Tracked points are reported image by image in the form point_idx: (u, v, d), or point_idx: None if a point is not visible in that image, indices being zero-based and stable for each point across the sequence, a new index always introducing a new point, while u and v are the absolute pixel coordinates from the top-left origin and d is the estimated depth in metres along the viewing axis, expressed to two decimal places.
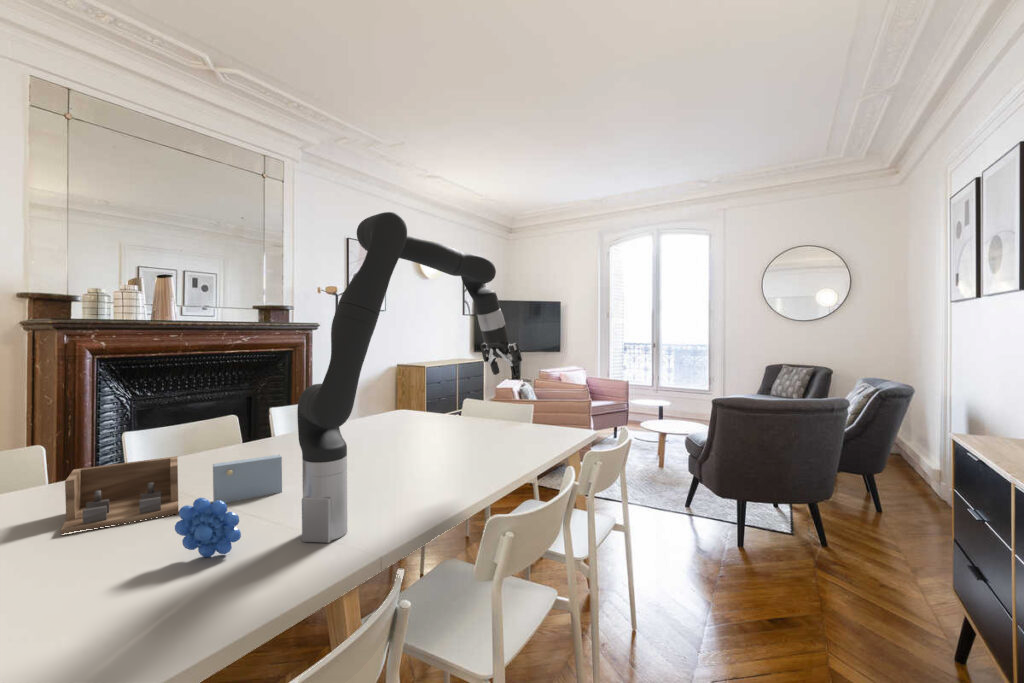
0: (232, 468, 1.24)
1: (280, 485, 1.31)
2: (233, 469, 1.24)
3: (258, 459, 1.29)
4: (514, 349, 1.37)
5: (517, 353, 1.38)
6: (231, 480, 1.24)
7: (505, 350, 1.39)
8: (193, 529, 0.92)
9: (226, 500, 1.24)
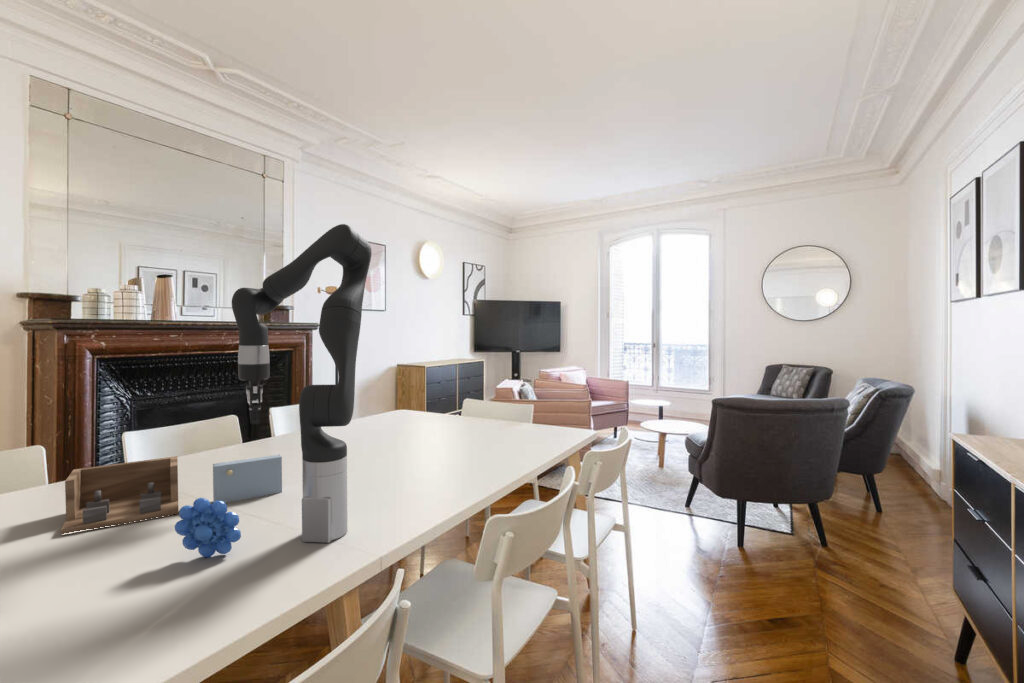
0: (232, 468, 1.24)
1: (280, 485, 1.31)
2: (233, 469, 1.24)
3: (258, 459, 1.29)
4: None
5: None
6: (231, 480, 1.24)
7: None
8: (193, 529, 0.92)
9: (226, 500, 1.24)
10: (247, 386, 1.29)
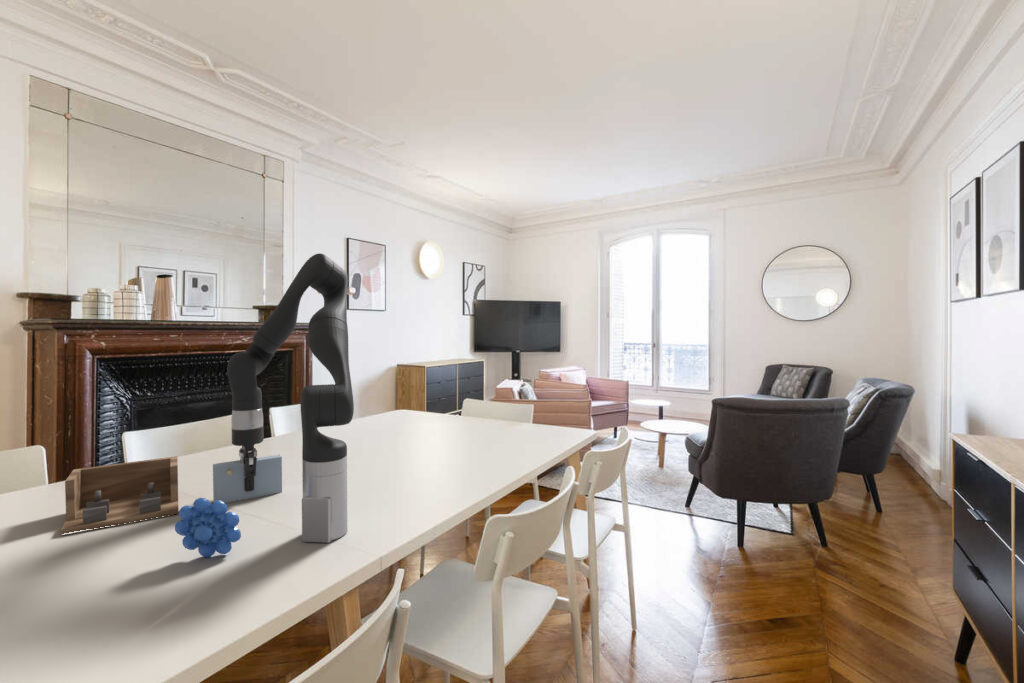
0: (232, 468, 1.24)
1: (280, 485, 1.31)
2: (233, 469, 1.24)
3: (258, 459, 1.29)
4: None
5: None
6: (231, 480, 1.24)
7: None
8: (193, 529, 0.92)
9: (226, 500, 1.24)
10: (240, 449, 1.28)
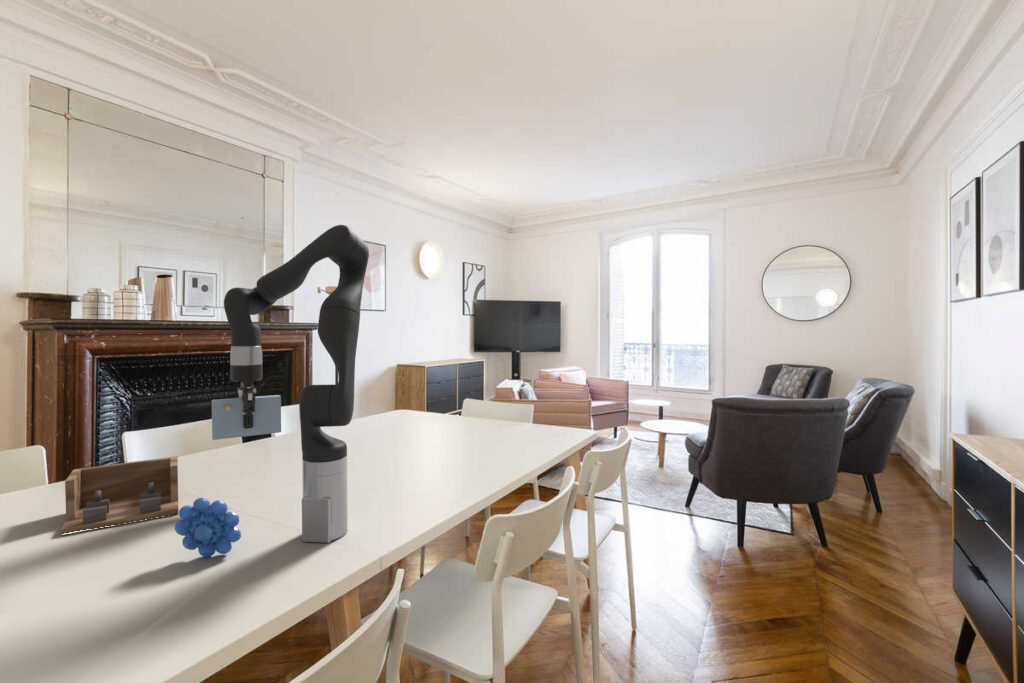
0: (231, 404, 1.24)
1: (279, 424, 1.31)
2: (232, 405, 1.24)
3: (257, 397, 1.28)
4: None
5: None
6: (229, 416, 1.24)
7: None
8: (193, 529, 0.92)
9: (225, 436, 1.23)
10: None
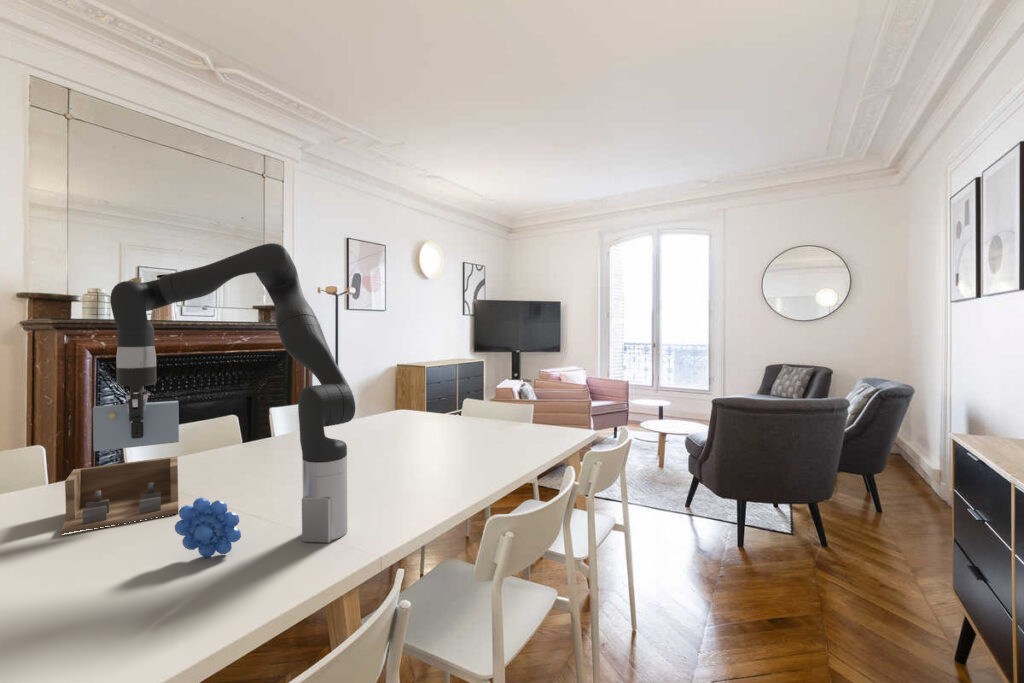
0: (116, 412, 1.11)
1: (176, 434, 1.18)
2: (117, 412, 1.11)
3: (150, 403, 1.15)
4: None
5: None
6: (114, 425, 1.11)
7: None
8: (193, 529, 0.92)
9: (108, 447, 1.10)
10: None
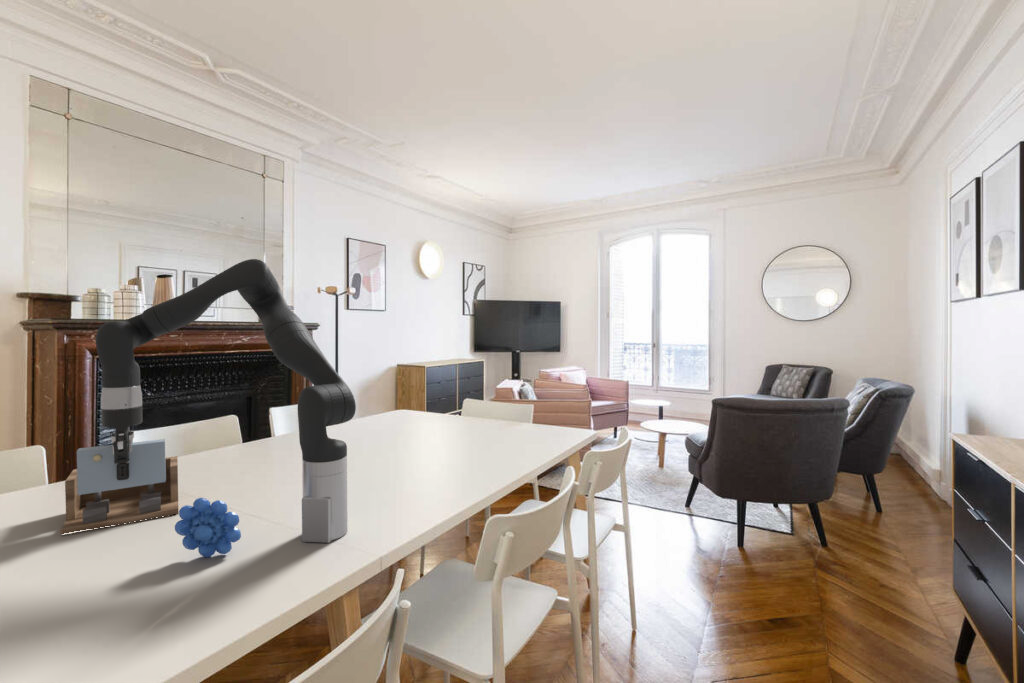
0: (101, 454, 1.09)
1: (163, 473, 1.16)
2: (102, 454, 1.09)
3: (135, 443, 1.13)
4: None
5: None
6: (99, 467, 1.09)
7: None
8: (193, 529, 0.92)
9: (93, 490, 1.08)
10: (114, 433, 1.12)
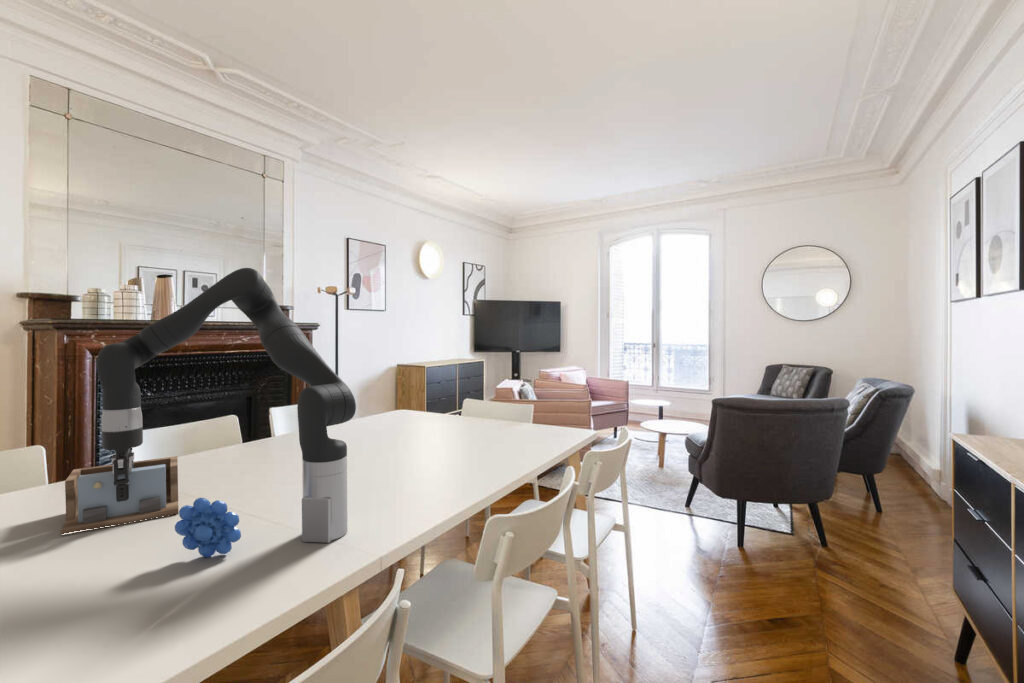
0: (102, 481, 1.09)
1: (164, 499, 1.16)
2: (103, 481, 1.09)
3: (136, 470, 1.13)
4: None
5: None
6: (100, 494, 1.09)
7: None
8: (193, 529, 0.92)
9: None
10: None
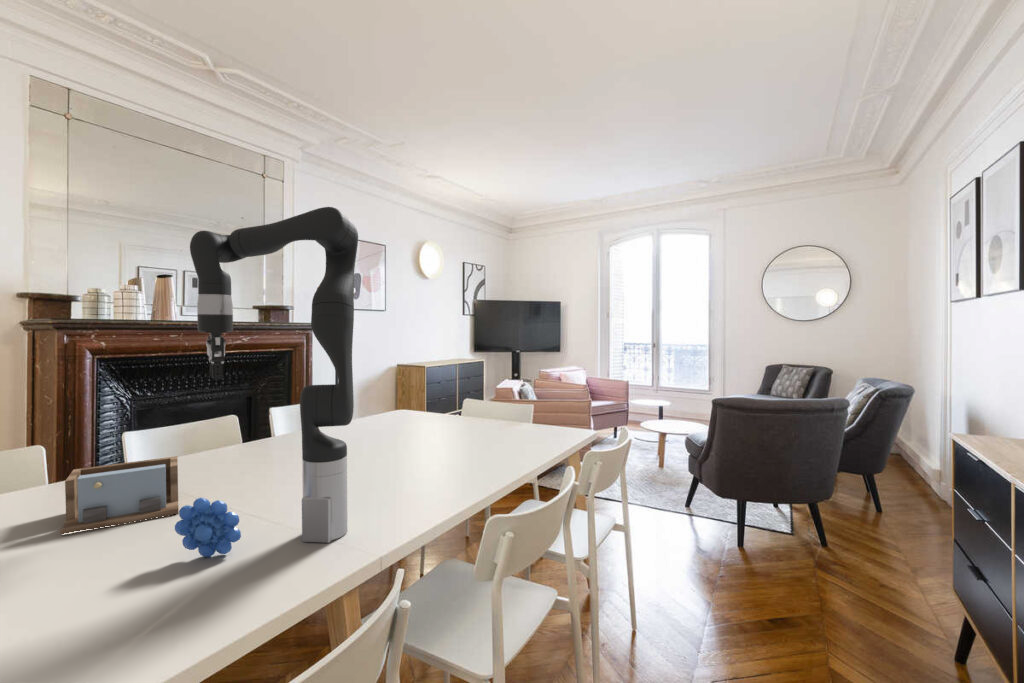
0: (102, 481, 1.09)
1: (164, 499, 1.16)
2: (103, 481, 1.09)
3: (136, 470, 1.13)
4: None
5: None
6: (100, 494, 1.09)
7: None
8: (193, 529, 0.92)
9: None
10: (207, 340, 1.18)
